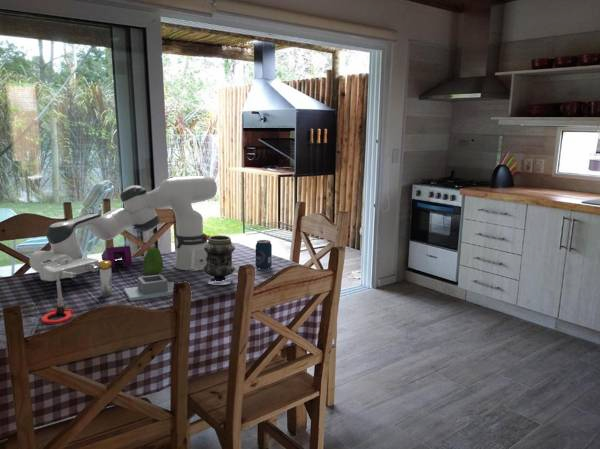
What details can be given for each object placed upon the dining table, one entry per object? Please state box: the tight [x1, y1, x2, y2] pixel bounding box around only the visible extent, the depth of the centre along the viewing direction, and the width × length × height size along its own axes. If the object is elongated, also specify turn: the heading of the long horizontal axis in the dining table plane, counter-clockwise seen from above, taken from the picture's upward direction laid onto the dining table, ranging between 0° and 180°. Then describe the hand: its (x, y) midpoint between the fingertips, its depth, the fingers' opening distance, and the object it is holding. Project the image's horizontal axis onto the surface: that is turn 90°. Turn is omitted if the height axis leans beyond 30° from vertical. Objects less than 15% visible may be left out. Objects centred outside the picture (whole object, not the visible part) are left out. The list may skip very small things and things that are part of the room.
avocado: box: [142, 246, 164, 276], centre depth 195 cm, size 8×8×12 cm
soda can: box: [254, 239, 273, 269], centre depth 210 cm, size 7×7×12 cm
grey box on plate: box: [123, 273, 175, 302], centre depth 176 cm, size 18×11×5 cm, turn 120°
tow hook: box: [41, 275, 74, 325], centre depth 150 cm, size 8×13×9 cm
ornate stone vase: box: [203, 234, 236, 281], centre depth 189 cm, size 12×12×18 cm
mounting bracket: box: [101, 245, 133, 270], centre depth 211 cm, size 9×8×18 cm
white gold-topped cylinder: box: [98, 260, 113, 297], centre depth 172 cm, size 4×4×12 cm
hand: (85, 272), depth 177 cm, fingers open, 8 cm apart
